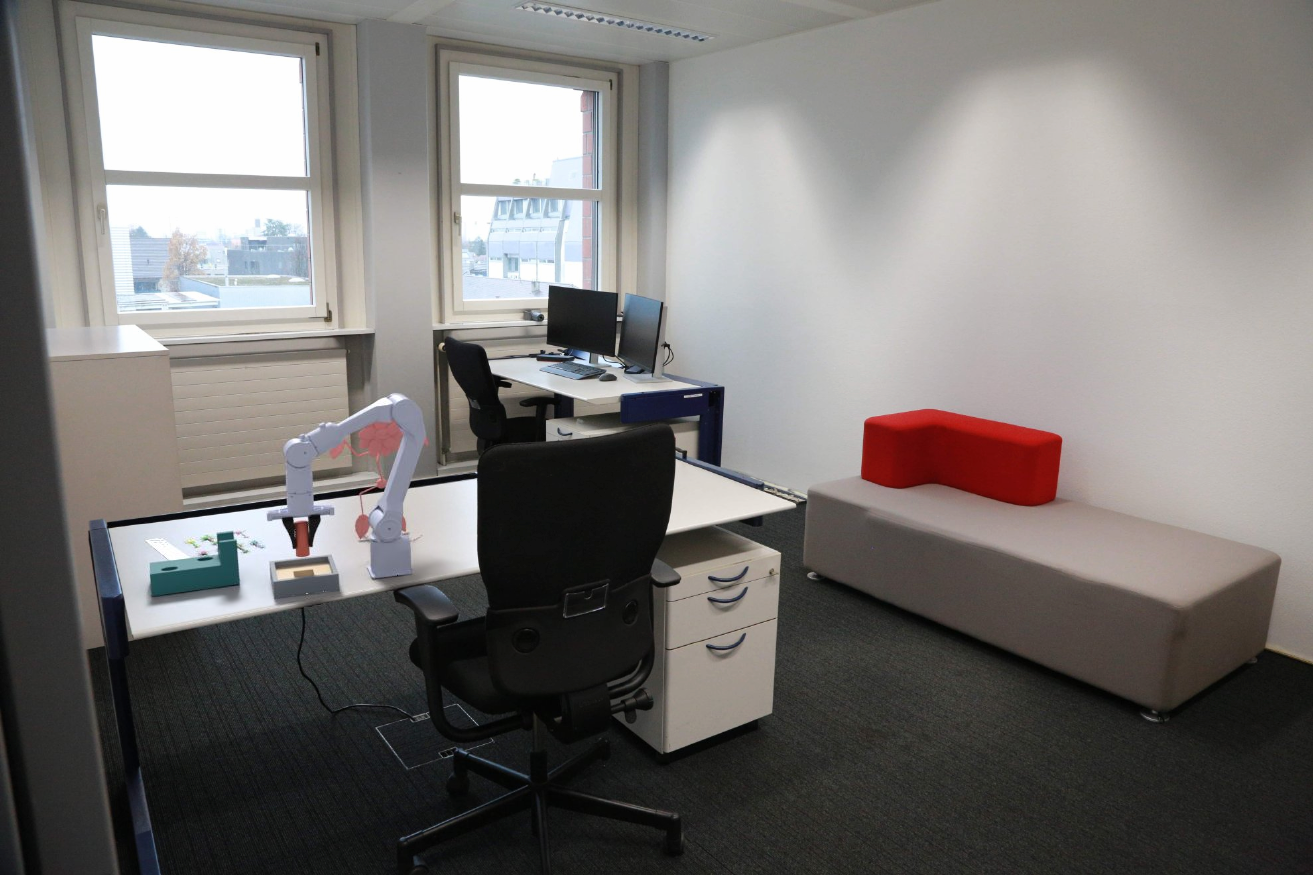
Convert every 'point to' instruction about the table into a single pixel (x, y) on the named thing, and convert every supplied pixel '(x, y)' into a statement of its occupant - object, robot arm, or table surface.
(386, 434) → the figurine
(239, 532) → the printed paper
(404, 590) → the table surface
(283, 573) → the box
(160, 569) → the teal l-shaped bracket
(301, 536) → the peg
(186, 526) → the table surface
